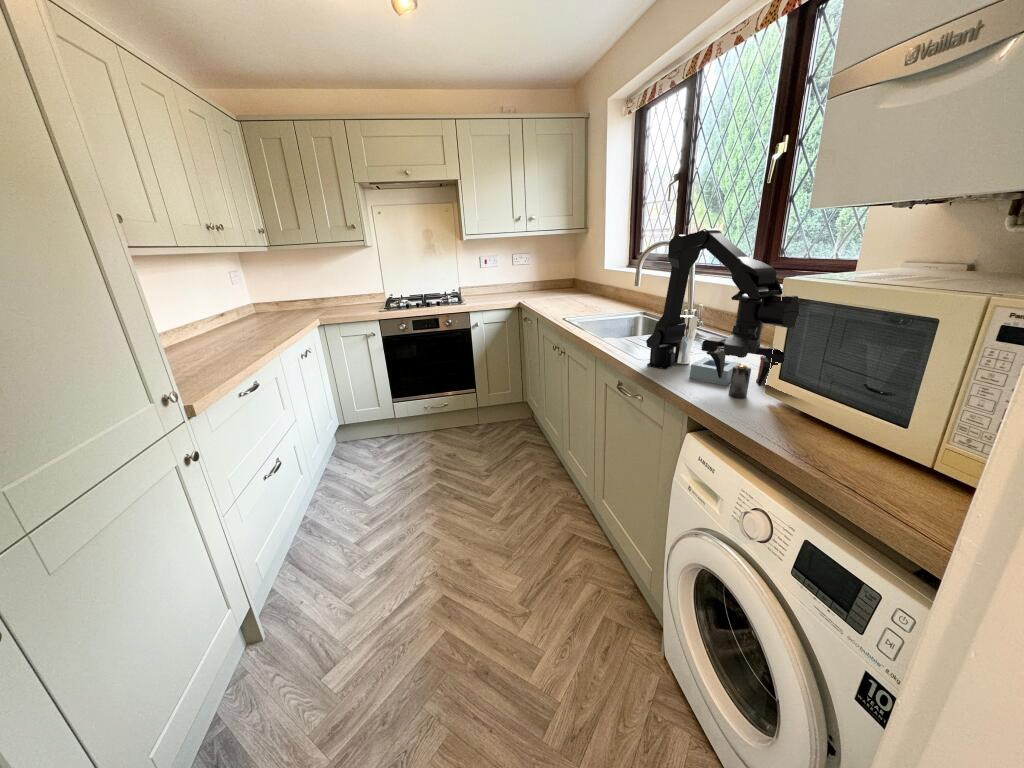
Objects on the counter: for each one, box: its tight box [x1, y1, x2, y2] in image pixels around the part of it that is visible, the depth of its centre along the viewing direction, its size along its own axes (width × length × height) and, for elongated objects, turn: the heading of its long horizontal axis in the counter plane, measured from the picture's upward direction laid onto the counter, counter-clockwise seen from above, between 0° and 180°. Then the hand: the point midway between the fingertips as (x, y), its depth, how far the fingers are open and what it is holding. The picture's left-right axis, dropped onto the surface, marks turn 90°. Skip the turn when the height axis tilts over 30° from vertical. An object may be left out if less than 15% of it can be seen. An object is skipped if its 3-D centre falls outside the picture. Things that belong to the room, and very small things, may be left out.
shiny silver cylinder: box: [674, 314, 699, 365], centre depth 127 cm, size 7×7×15 cm
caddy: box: [689, 356, 742, 386], centre depth 114 cm, size 10×10×4 cm
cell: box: [728, 364, 752, 400], centre depth 100 cm, size 4×4×8 cm
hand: (739, 381), depth 100 cm, fingers open, 9 cm apart
